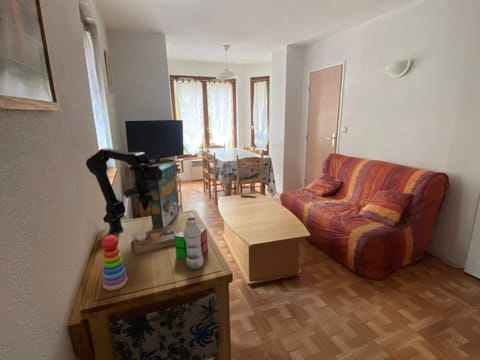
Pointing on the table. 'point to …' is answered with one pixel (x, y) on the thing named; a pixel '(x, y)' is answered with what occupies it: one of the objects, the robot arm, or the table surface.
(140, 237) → the cream button
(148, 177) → the robot arm
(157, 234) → the terracotta button
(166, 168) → the cake mix box
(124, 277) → the stacking toy
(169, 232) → the charcoal button
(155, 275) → the table surface
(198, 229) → the plastic bottle
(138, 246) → the panel
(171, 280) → the table surface
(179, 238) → the puzzle cube
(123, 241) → the table surface
